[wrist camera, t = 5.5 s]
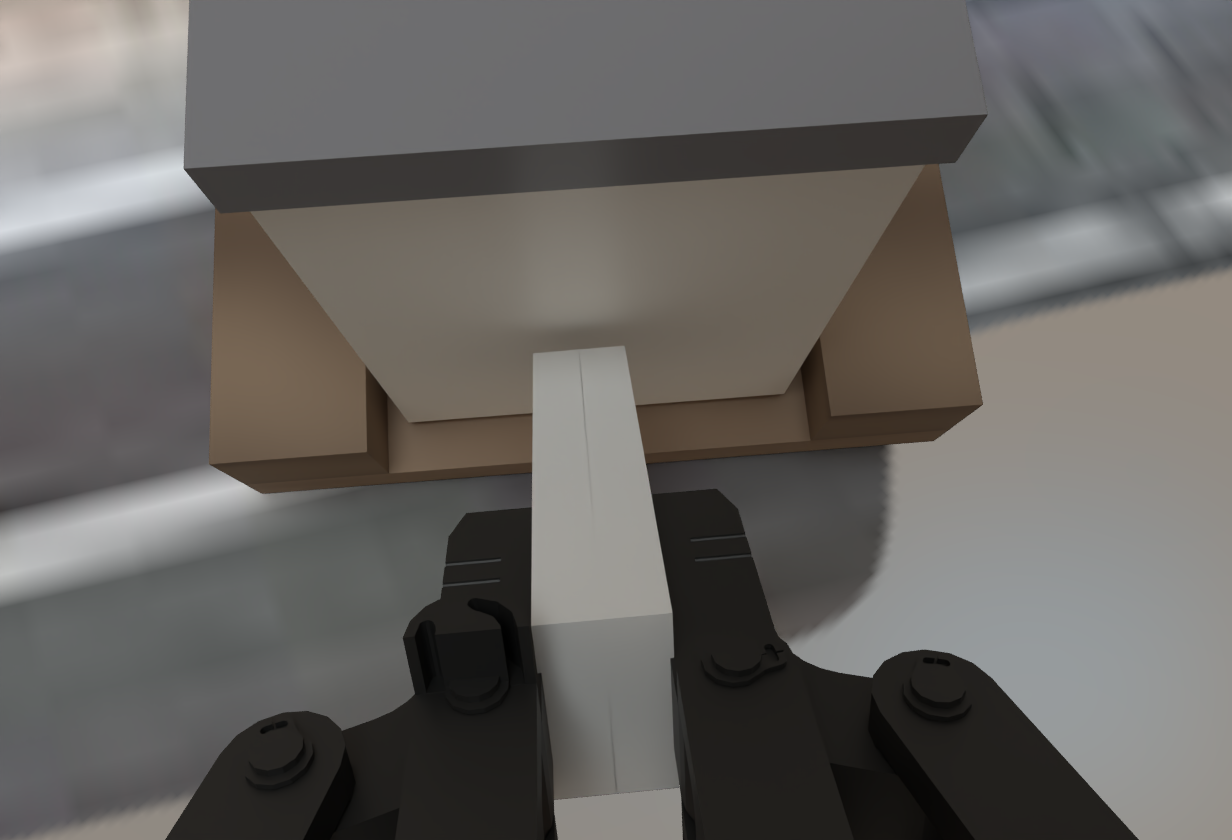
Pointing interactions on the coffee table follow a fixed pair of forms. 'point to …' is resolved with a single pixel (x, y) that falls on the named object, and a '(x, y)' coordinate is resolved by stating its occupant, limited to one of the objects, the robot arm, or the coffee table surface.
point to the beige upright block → (575, 174)
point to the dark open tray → (498, 445)
